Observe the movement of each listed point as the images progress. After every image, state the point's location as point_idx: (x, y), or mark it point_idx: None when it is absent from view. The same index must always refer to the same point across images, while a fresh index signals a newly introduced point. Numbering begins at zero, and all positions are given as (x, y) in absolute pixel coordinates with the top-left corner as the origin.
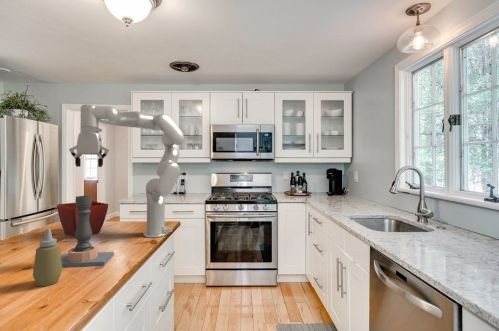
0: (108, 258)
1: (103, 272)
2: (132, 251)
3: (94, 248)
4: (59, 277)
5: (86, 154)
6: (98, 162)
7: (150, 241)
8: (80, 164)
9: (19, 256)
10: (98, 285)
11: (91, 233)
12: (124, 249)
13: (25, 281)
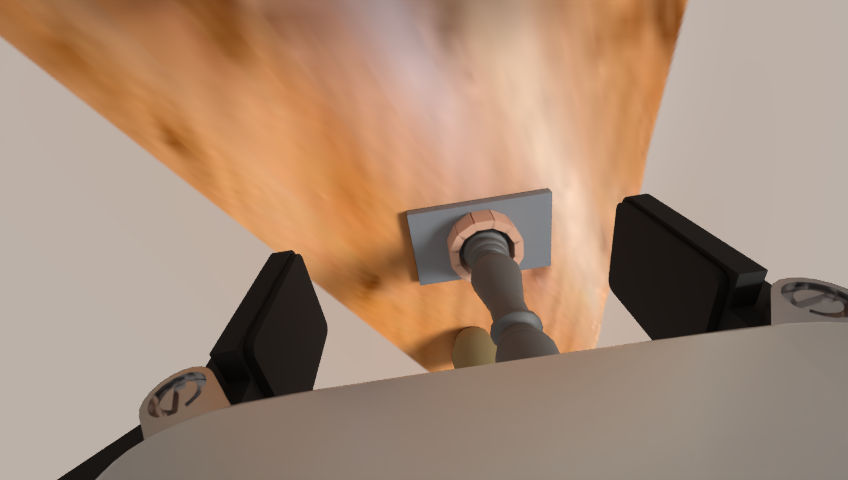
0: (550, 235)
1: (559, 294)
2: (598, 148)
3: (517, 247)
4: (490, 336)
5: (335, 388)
6: (651, 331)
7: (654, 4)
8: (292, 269)
9: (270, 210)
10: (570, 341)
11: (521, 275)
12: (566, 127)
13: (425, 336)
